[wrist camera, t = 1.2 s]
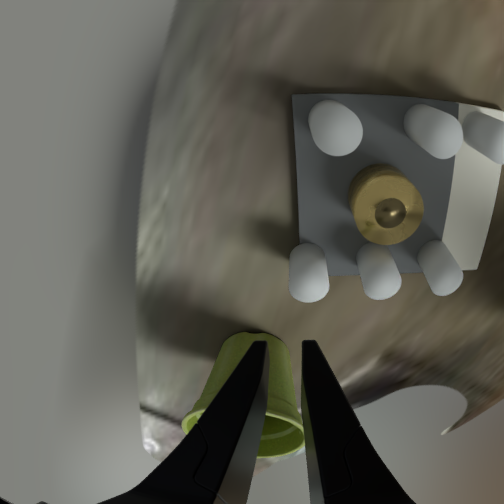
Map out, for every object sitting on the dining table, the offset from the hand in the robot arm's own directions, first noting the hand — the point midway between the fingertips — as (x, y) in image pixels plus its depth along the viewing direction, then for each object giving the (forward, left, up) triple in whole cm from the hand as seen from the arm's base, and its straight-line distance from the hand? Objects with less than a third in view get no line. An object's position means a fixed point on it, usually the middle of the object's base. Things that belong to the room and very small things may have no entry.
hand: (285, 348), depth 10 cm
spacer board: (-7, 0, -12) cm, 14 cm away
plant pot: (+4, +15, -12) cm, 20 cm away
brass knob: (-5, 0, -11) cm, 13 cm away
